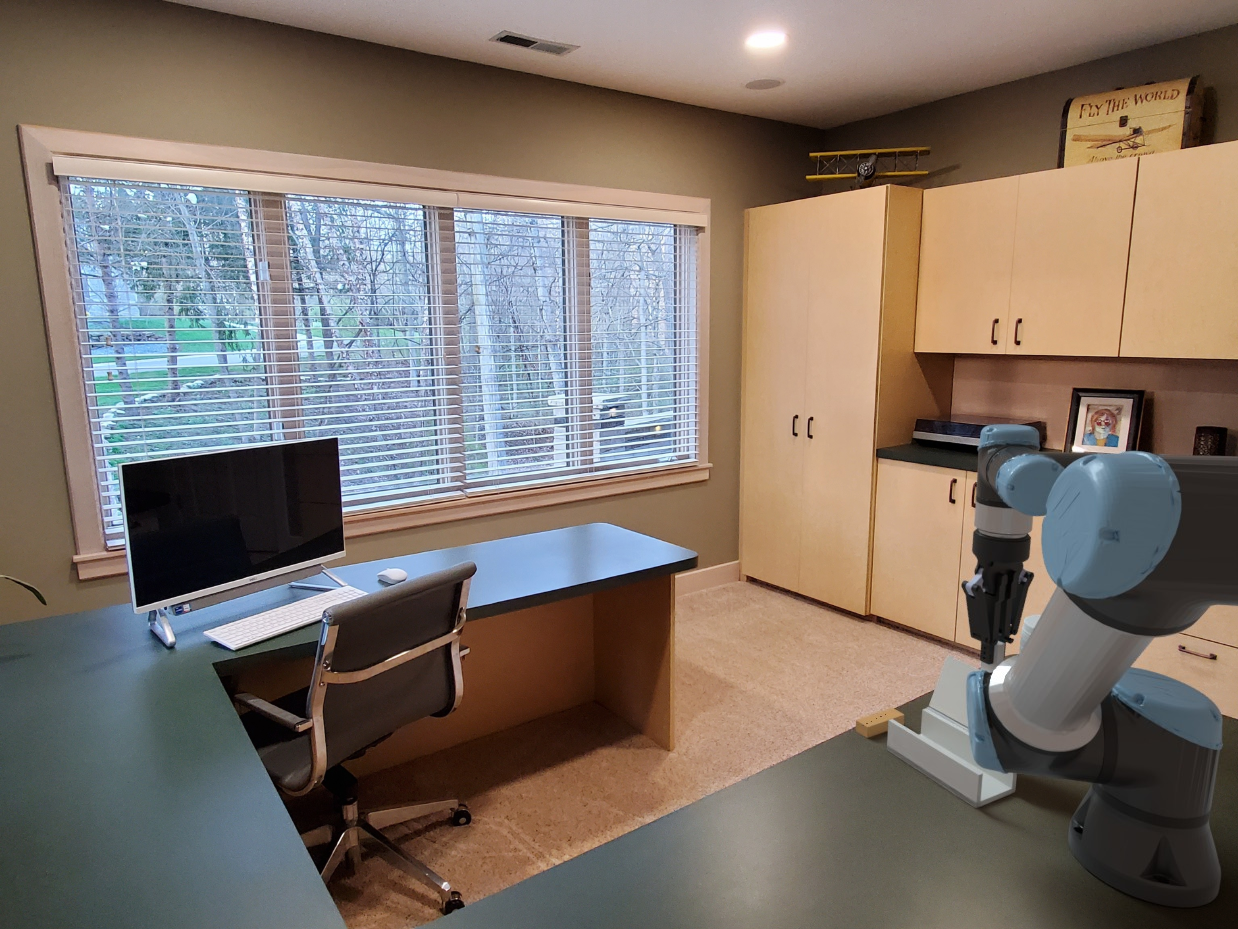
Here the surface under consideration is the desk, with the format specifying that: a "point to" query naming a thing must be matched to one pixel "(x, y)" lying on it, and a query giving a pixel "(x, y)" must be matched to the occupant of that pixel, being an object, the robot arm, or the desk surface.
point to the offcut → (878, 722)
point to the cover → (952, 692)
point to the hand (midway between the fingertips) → (990, 681)
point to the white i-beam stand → (948, 759)
